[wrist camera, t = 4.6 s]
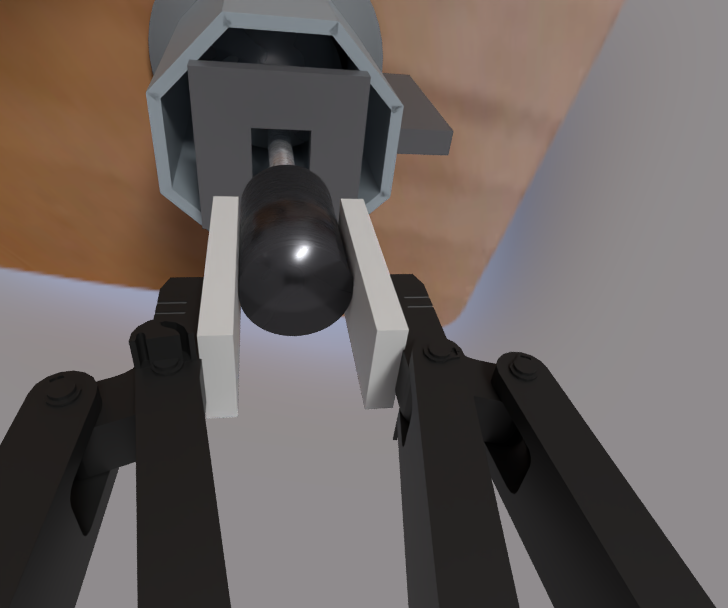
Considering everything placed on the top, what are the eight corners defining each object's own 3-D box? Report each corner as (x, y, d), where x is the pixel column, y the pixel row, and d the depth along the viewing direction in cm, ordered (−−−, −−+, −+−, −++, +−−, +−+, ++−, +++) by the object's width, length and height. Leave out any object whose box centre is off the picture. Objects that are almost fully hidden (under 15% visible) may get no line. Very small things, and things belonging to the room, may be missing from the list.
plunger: (205, 141, 32) (164, 397, 17) (193, -10, 27) (118, 152, 12) (335, 145, 34) (411, 384, 18) (346, 4, 29) (462, 163, 13)
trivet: (166, 163, 36) (164, 168, 35) (132, -92, 27) (129, -92, 27) (367, 169, 39) (369, 174, 38) (394, -62, 30) (397, -60, 30)
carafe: (191, 142, 35) (166, 261, 24) (173, -43, 28) (128, 8, 18) (388, 149, 37) (443, 259, 27) (411, -19, 31) (495, 38, 20)
